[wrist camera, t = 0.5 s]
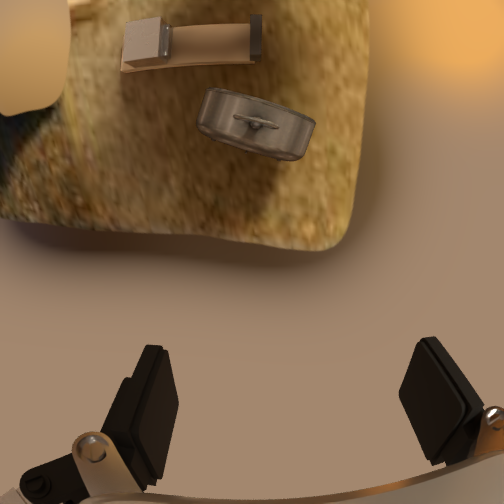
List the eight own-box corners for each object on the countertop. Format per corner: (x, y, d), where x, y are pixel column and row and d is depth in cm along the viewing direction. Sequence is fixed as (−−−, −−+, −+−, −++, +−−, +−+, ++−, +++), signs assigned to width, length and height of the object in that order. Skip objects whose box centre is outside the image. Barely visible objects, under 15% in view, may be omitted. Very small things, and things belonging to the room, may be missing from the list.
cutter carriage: (137, 31, 28) (126, 22, 24) (174, 26, 28) (166, 15, 24) (135, 68, 30) (122, 61, 26) (172, 63, 30) (163, 55, 26)
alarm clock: (305, 122, 34) (344, 111, 19) (290, 164, 36) (318, 184, 21) (216, 94, 33) (188, 62, 18) (202, 136, 35) (164, 136, 19)
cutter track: (127, 38, 29) (113, 28, 25) (260, 27, 30) (261, 14, 25) (125, 73, 31) (110, 66, 27) (260, 64, 31) (261, 54, 27)
